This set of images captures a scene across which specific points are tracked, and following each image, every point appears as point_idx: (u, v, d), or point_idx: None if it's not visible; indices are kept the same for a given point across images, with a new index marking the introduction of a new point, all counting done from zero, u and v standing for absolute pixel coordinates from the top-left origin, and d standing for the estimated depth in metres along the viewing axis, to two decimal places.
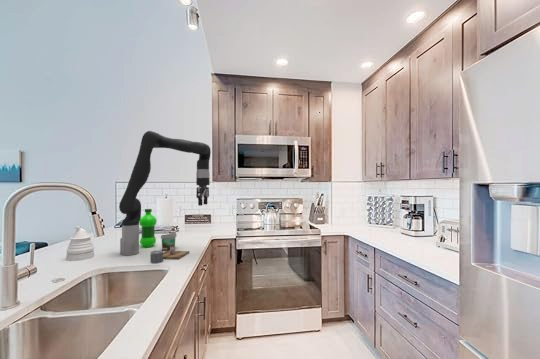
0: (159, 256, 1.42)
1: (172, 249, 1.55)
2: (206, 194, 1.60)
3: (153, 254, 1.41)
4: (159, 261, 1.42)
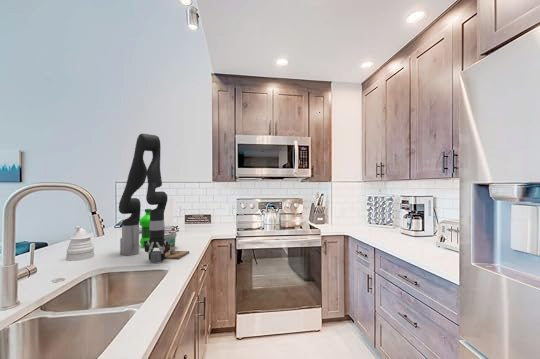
0: (159, 256, 1.42)
1: (172, 249, 1.55)
2: (154, 247, 1.46)
3: (153, 254, 1.41)
4: (159, 261, 1.42)
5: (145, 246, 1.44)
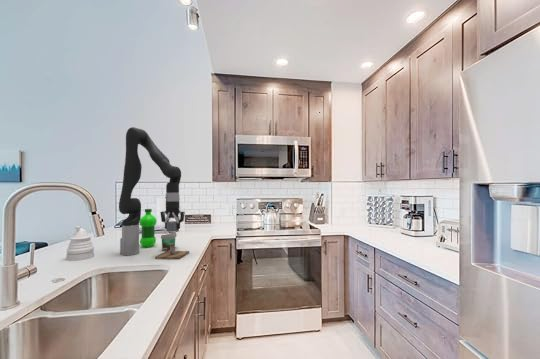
0: (175, 225, 1.54)
1: (172, 249, 1.55)
2: None
3: (169, 223, 1.53)
4: (175, 230, 1.54)
5: (162, 216, 1.56)
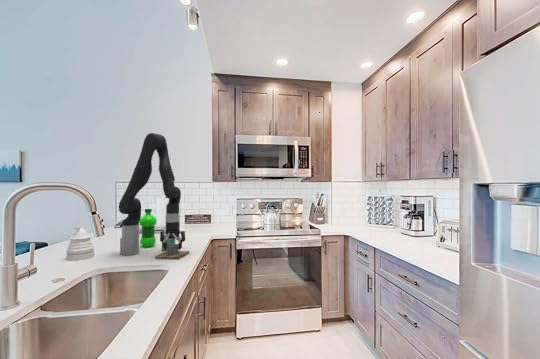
0: (175, 248, 1.54)
1: None
2: None
3: (169, 247, 1.53)
4: (175, 253, 1.54)
5: (161, 236, 1.55)
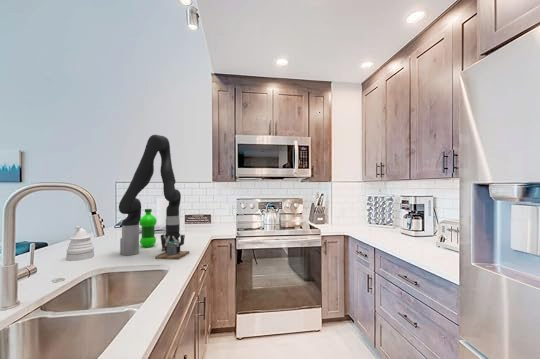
0: (175, 248, 1.54)
1: None
2: None
3: (169, 247, 1.53)
4: (175, 253, 1.54)
5: (162, 239, 1.55)
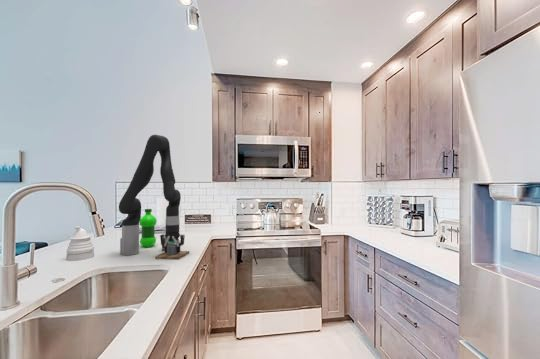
0: None
1: None
2: None
3: (175, 246, 1.54)
4: None
5: (161, 239, 1.55)
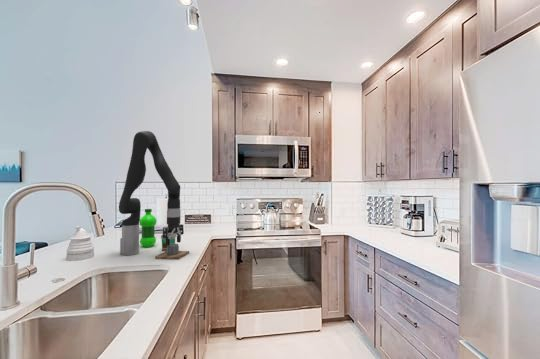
0: None
1: None
2: None
3: None
4: None
5: (166, 232, 1.51)
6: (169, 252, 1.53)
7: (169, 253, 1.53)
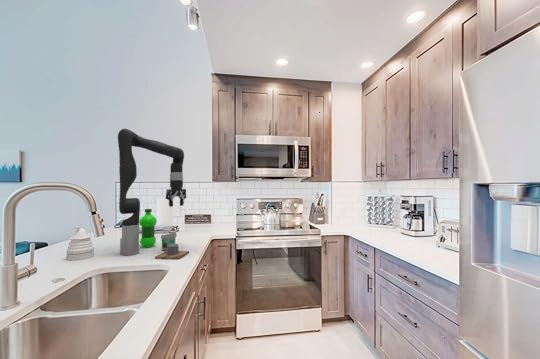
0: None
1: None
2: None
3: None
4: None
5: (170, 194, 1.60)
6: (169, 252, 1.53)
7: (169, 253, 1.53)
